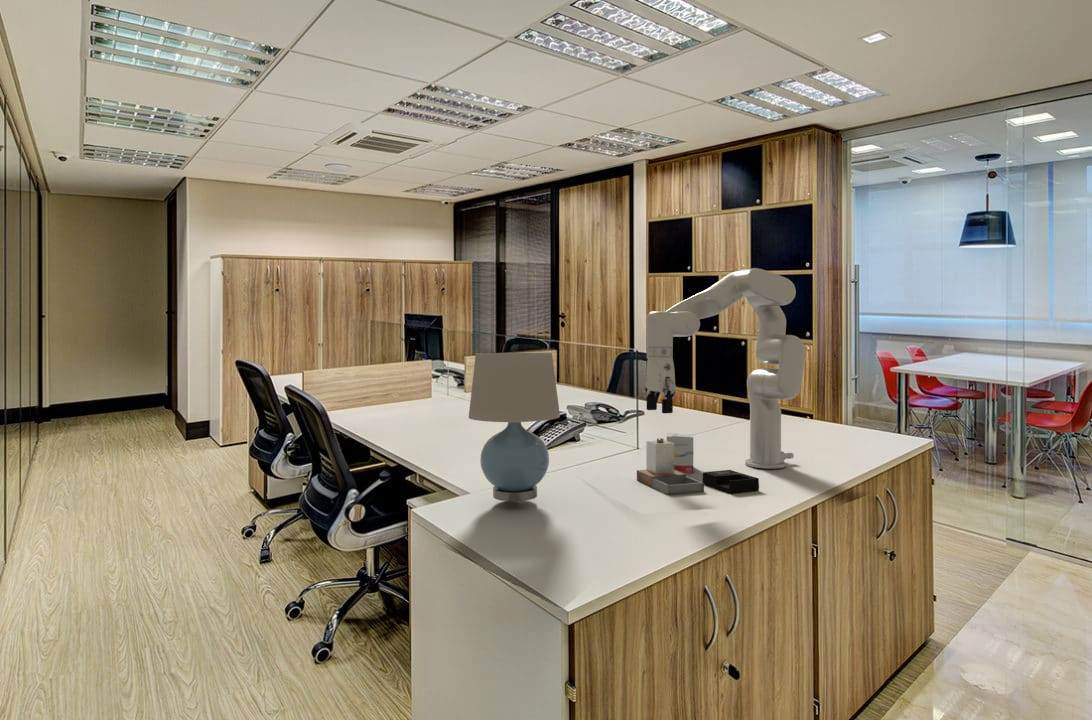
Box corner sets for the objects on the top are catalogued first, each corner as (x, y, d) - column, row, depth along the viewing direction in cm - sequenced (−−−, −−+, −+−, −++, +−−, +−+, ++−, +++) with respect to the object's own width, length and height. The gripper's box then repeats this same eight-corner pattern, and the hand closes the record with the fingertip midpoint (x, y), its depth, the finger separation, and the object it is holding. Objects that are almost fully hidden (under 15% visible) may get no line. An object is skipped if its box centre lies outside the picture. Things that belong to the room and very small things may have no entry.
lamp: (527, 512, 149) (526, 353, 148) (450, 500, 162) (448, 353, 161) (577, 492, 170) (576, 352, 169) (504, 482, 183) (503, 352, 182)
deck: (669, 477, 187) (669, 467, 187) (686, 484, 178) (686, 474, 178) (636, 480, 184) (636, 470, 184) (651, 487, 175) (651, 476, 175)
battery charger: (702, 485, 178) (702, 472, 178) (729, 483, 181) (729, 469, 181) (730, 495, 166) (730, 481, 166) (759, 492, 169) (759, 478, 169)
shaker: (664, 469, 185) (664, 436, 185) (674, 473, 179) (674, 439, 179) (646, 470, 183) (646, 438, 183) (655, 474, 178) (655, 440, 177)
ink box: (693, 474, 192) (693, 436, 192) (666, 473, 194) (665, 436, 194) (692, 468, 201) (692, 432, 201) (666, 467, 203) (666, 432, 202)
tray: (685, 484, 178) (685, 475, 178) (704, 491, 169) (704, 482, 169) (651, 487, 175) (651, 478, 175) (668, 495, 166) (668, 485, 166)
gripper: (685, 353, 173) (685, 414, 174) (657, 353, 190) (657, 408, 190) (662, 353, 171) (661, 414, 172) (635, 353, 188) (635, 409, 188)
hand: (659, 411), depth 181 cm, fingers open, 9 cm apart
